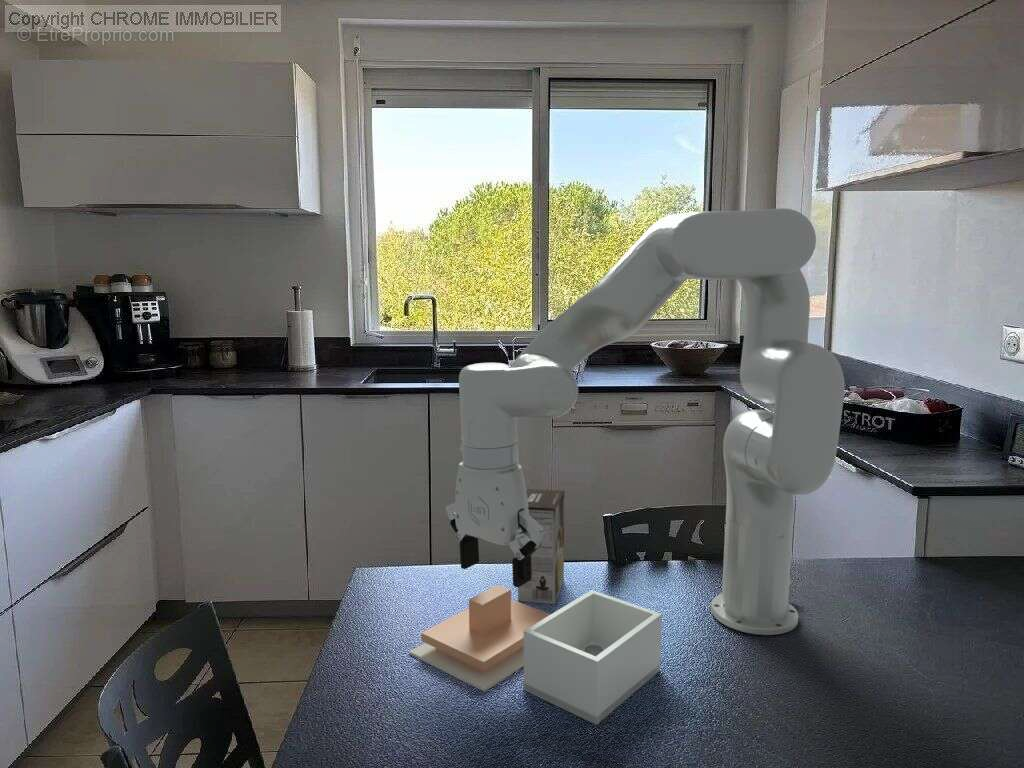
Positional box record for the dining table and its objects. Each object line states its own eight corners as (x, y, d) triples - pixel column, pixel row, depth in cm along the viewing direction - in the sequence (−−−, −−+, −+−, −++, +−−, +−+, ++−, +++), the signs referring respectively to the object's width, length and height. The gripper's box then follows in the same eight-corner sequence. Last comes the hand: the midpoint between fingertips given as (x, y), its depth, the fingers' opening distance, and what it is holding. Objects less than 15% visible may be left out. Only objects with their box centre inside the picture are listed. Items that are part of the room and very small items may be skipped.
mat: (495, 607, 115) (495, 604, 114) (568, 636, 106) (568, 633, 106) (409, 653, 101) (409, 651, 101) (484, 691, 92) (484, 689, 92)
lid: (496, 609, 113) (495, 565, 112) (556, 634, 105) (557, 587, 104) (421, 651, 101) (420, 602, 100) (483, 681, 94) (483, 629, 92)
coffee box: (527, 577, 125) (527, 487, 122) (564, 580, 124) (565, 489, 121) (516, 602, 116) (516, 505, 114) (556, 605, 115) (557, 507, 112)
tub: (590, 642, 104) (591, 589, 102) (660, 670, 97) (661, 613, 95) (523, 689, 92) (523, 631, 91) (596, 724, 85) (597, 661, 84)
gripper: (425, 452, 101) (432, 568, 104) (522, 472, 90) (526, 601, 93) (463, 440, 107) (469, 551, 110) (558, 458, 96) (561, 580, 99)
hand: (495, 574), depth 102 cm, fingers open, 9 cm apart
